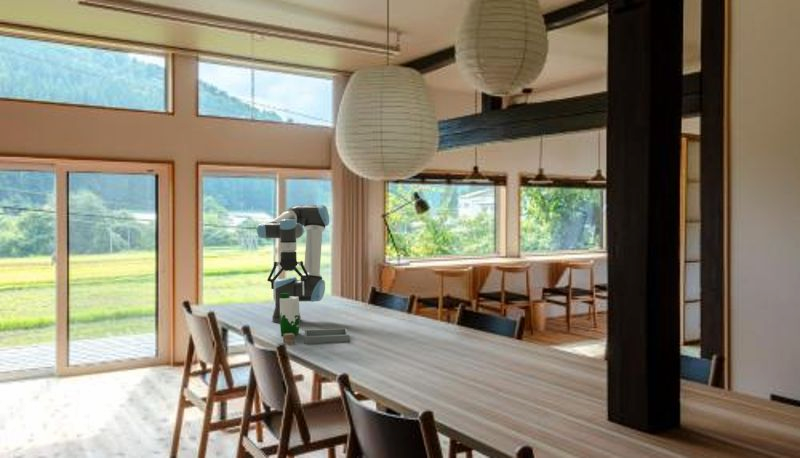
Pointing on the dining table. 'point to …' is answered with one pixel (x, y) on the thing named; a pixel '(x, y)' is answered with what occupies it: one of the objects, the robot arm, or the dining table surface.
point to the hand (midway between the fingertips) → (289, 295)
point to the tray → (326, 336)
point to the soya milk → (289, 314)
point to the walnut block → (289, 338)
